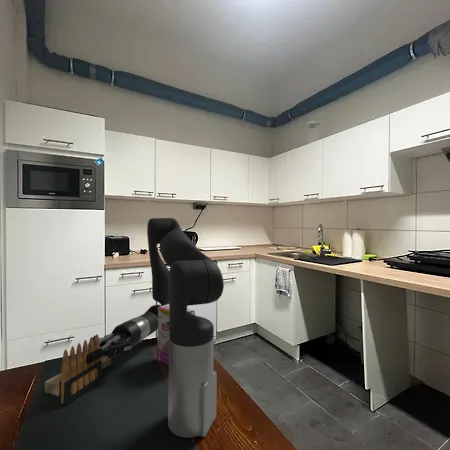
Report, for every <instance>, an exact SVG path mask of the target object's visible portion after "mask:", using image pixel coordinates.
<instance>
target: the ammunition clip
mask: <svg viewBox="0 0 450 450" xmlns="http://www.w3.org/2000/svg"><path fill="white" fill-rule="evenodd" d="M99 338H100V337H99V335H98V333H96V337H95V342H93V336H91V337H90V338H89V342H88V341H87V339H84V341H83V344H82V345H81V343H80V342H78V344H77V345H76V350H75V347H74V345H72V346H71V348H70V351H69V353H68V350H67V348H66V349H64V351H63V355H62V361H61V362H62V364H61V370H60V371H61V372H60V373H61V380H60V386H59V396H58V404H60V405H62V406H67V405H68V404H69V403H71V402H72V401H74V400H75V399H77V398H78V397H80V396H81V395H82V394H83V393H84V394H85V392H86V391H88V390H90V389H91V388H92V387H94V386H95V385H96V384H98V383H99V382H101V381H103V369H102V360H100V358H99V359H97V360H96V361H94V362H92V363H90V364H87V363H86V356H87V355H88V354H89V353H91V352H93V351H95V350H97V349H100V345H99ZM88 343H89V349H88Z"/></svg>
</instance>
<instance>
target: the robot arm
mask: <svg viewBox="0 0 450 450" xmlns="http://www.w3.org/2000/svg"><path fill="white" fill-rule="evenodd" d="M146 227H147V228H146V229H147V230H146V237H147V246H148V247H147V248H148V255H149V263H150V269H151V285H152V287H151V293H152V295H151V297H152V299H153V300H154V301H155V302H157V303H159V304H154V305H151V306H150V307H149V308H148V309H147V310H146V311H145V312H144V313H143V314H141V315H138V316H136V317H134V318H131V319H128V320H126V321H124V322H122V323H120V324H118V325H116V326H115V327H114V328H113V330H112V331H111V333H109V334H107V335H106V334H105V335H104V336H103V337H99V345H100V349H97V350H95V351H93V352H91V353H89V354H88V355H87V356H86V363H87V364H90V363H92V362H94V361H96V360H97V359H99V358H104V357H106V356H108V358H111V359H112V358H115V357H118V356H122V355H124V354H128V353H131V352H132V348H133V347H134V346H136V345H138V344H139V343H141V342H143V340H145V339H146V338H147V337H149V336H150V335H152V334H153V333H155V332H156V331H157V320H158V307H160V306H163V305H167V304H169V328H170V330H169V366H168V388H167V390H168V392H167V394H168V395H167V403H168V404H167V406H168V407H167V426H168V428H169V430H170V432H171V433H172V434H174V435H175V436H177V437H181V438H187V439H188V438H189V439H190V438H196V437H202V438H205V437H206V435H207V433H208V432H209V430H210V428H211V426H212V424H213V423H214V421H215V419H216V418H217V377H218V376H217V374H218V373H217V371H216V370H214V341H215V339H214V337H215V332H214V331H215V330H214V329H215V328H214V323H213V322H212V321H211V320H210V319H208V318H206V317H203V316H199V315H196V314H195V315H193V314H190V313H189V312H187V308H188V306H199V305H207V304H212V303H215V302H217V301H218V300H219V299H220V298H221V297H222V295H223V292H224V289H225V288H224V287H225V286H224V277H223V274H222V271H221V269H220V267H219V266H218V265H217V263H216V262H215V261H214V260H213V259H211V258H210V257H209V256H207V255H206V254H205V253H203V252H202V251H201V250H200V249H199V248H198V247H197V246H196V245H195V244H194V242H193V241H192V240H191V239H190V238H189V237H188V235H186V233H185V232H184V231H183V229H182V227H181V226H180V223H179V222H178V220H176V219H175V218H173V217H160V218H159V217H154V218H153V217H152V218H150V219H149V220H148V222H147V226H146ZM158 245H159V250H158ZM159 252H160V253H159ZM160 254H161V255H160ZM167 266H168V267H169V268H168V267H167ZM96 335H97V334H96ZM96 335H93V336H92V338H93V342H95V337H96ZM87 345H88V349H89V342H87Z"/></svg>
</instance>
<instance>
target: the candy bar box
mask: <svg viewBox="0 0 450 450" xmlns="http://www.w3.org/2000/svg"><path fill="white" fill-rule="evenodd" d="M187 312H189V313H190V314H193V315H196V310H195V309H192V308H188V307H187ZM169 330H170V328H169V304H167V305H163V306H160V307H158V320H157V330H156V331H157V333H156V334H157V335H156V337H157V338H156V361H157V362H159V363H160V364H163V365H166V366H168V367H169Z"/></svg>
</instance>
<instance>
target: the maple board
mask: <svg viewBox="0 0 450 450" xmlns="http://www.w3.org/2000/svg"><path fill="white" fill-rule="evenodd" d="M100 360H102V370H104V369H105V368H107V367H108V366H110V365H111V364H112V358H108V356H106V357H104V358H100ZM60 380H61V372H60V373H59V374H57V375H55V376H53V377H51V378H50V379H47V380H45V381H44V393H47V394H50V395H53V396H56V397H59V386H60Z"/></svg>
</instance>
